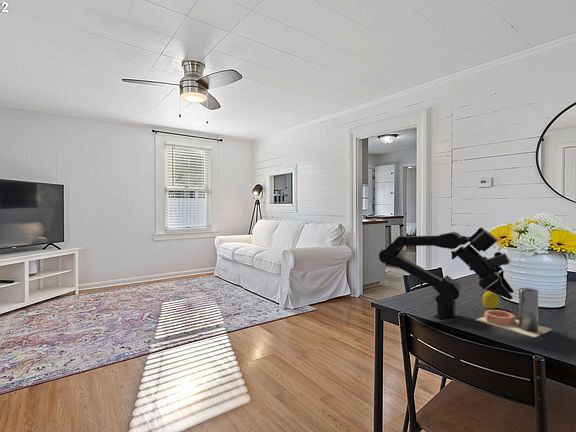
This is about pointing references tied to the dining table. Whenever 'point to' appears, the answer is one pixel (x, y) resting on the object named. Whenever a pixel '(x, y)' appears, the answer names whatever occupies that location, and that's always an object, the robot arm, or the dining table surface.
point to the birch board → (516, 328)
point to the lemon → (490, 300)
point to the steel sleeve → (528, 309)
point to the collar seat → (499, 317)
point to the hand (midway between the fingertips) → (512, 295)
